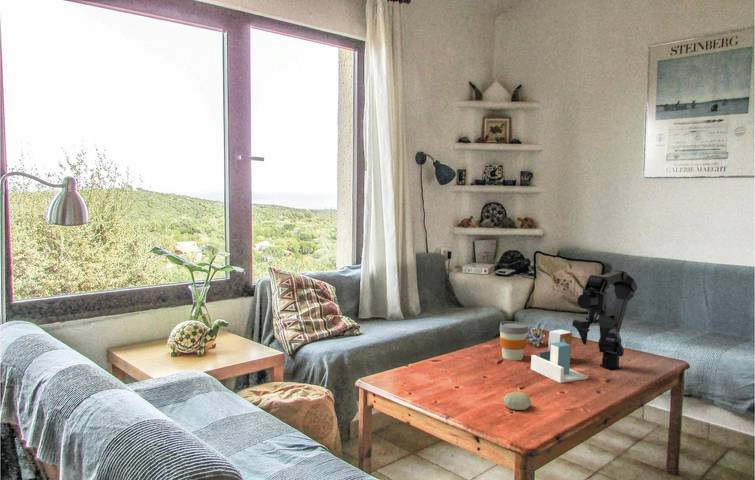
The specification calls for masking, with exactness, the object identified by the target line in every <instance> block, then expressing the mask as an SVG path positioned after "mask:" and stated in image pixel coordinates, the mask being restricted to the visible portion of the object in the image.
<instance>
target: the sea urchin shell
mask: <svg viewBox="0 0 755 480" xmlns="http://www.w3.org/2000/svg"><path fill="white" fill-rule="evenodd" d="M503 404H504V405H505V406H506V407H507V408H508V409H511V410H514V411H515V410H516V411H526V410H527V409H529V408H530V406H531V404H532V400H531V397H530V396H528V394H526V393H524V392H522V391H521V392H520V391H512V392H509V393H507V394H505V396H504V397H503Z"/></svg>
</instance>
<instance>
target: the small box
mask: <svg viewBox="0 0 755 480" xmlns="http://www.w3.org/2000/svg"><path fill="white" fill-rule="evenodd" d="M572 336H573V332H572V331H569V330H565V329H562V328H561V329H555V330H550V331H548V347H547V351H549V350H550V347H551V343H557V342H564V343H566V344H569V345H571V346H572V341H573V338H572ZM571 353H572V349H571V350H570V358H571Z"/></svg>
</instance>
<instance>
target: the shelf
mask: <svg viewBox="0 0 755 480" xmlns="http://www.w3.org/2000/svg"><path fill="white" fill-rule="evenodd" d="M537 354H538V355H536V354H531V355H530V356H531V357H530V359H531V360H530V370H531V371H534V372H536V373H538V374H541V375H542V376H544V377H547V378H549V379H551V380H553V381H555V382H558V383H559V384H562V383H563V384H564V383H568V382H575V381H580V380H582V381H583V380H588V378H589V376H588V375H586V374H584V373H581V372H580V371H577V370H574V369H572V368H570V369H569V374H565V375H564V368H563V367H561V366H559V365H557V364H554V363H552V362H550V350H549V351H548V350H542V351H537Z"/></svg>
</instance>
